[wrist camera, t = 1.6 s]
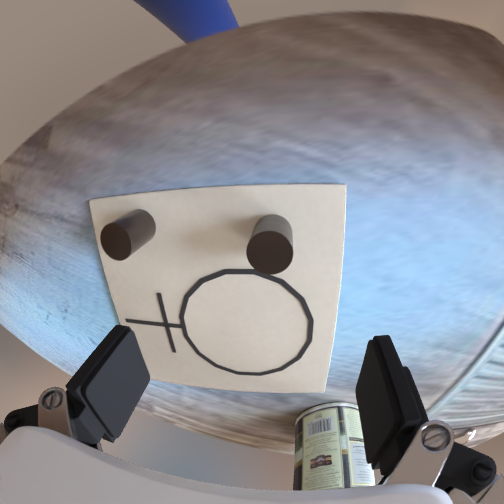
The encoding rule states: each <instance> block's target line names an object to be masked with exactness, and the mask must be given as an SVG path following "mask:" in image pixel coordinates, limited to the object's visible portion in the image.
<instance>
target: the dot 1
mask: <svg viewBox="0 0 504 504" xmlns="http://www.w3.org/2000/svg"><path fill="white" fill-rule="evenodd" d="M155 232H156V224H155V221H154V219H153V217H152V216H151V214H150V213H148V212H147V211H145V210H142V209H136V210H134V211H132V212H130V213H128V214H126V215H124V216H122V217H120V218H118V219H116V220H114V221H112V222H110V223H108V224H107V225H105V226H104V227H103V229H102V231H101V234H100V241H101V246H102V248H103V250H104V252H105V253H106V254H107V255H108V256H109V257H110V258H112V259H113V260H116V261H123V260H125V259H127V258H128V257H129V256H131V255H132V254H133V253H134V252H136V251H137V250H138V249H140V248H141V247H142V246H143V245H145V244H146V243H147V242H149V241H150V240H151V239H152V238H153V237H154V235H155Z"/></svg>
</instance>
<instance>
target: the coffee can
mask: <svg viewBox="0 0 504 504" xmlns="http://www.w3.org/2000/svg"><path fill="white" fill-rule="evenodd" d="M295 428H296V431H295V466H294V484H293V491H304V490H331V489H344V488H354V487H364V486H373V485H375V479H374V472H373V470H372V467H371V464H368V463H367V462H366V455H365V448H364V441H363V434H362V428H361V422H360V416H359V410H358V406H357V405H355V404H351V403H346V402H334V403H327V404H322V405H319V406H315V407H313V408H310V409H308V410H306V411H305V412H303V413H302V414H301V415H300V416H299V417H298V418H297V419H296V422H295Z"/></svg>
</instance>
